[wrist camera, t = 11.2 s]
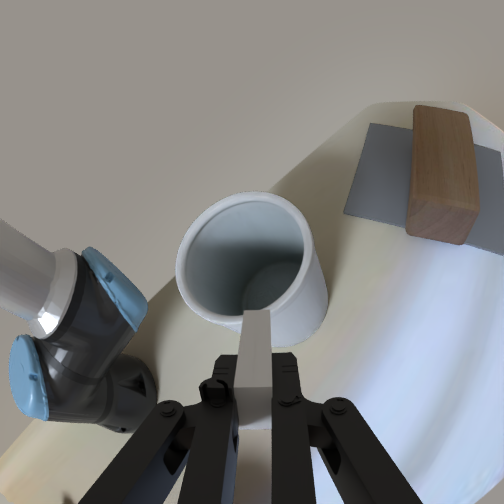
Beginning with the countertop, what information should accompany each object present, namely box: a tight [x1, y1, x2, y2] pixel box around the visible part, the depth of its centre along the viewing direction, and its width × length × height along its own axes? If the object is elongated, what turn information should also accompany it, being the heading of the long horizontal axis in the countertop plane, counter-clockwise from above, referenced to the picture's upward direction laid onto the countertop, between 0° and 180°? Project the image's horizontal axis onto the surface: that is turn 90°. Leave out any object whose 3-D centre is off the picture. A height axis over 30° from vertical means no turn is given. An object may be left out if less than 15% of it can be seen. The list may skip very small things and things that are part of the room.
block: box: [405, 105, 480, 245], centre depth 37 cm, size 10×10×20 cm
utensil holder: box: [175, 191, 328, 347], centre depth 37 cm, size 15×15×18 cm
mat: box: [344, 123, 504, 255], centre depth 42 cm, size 28×22×1 cm
